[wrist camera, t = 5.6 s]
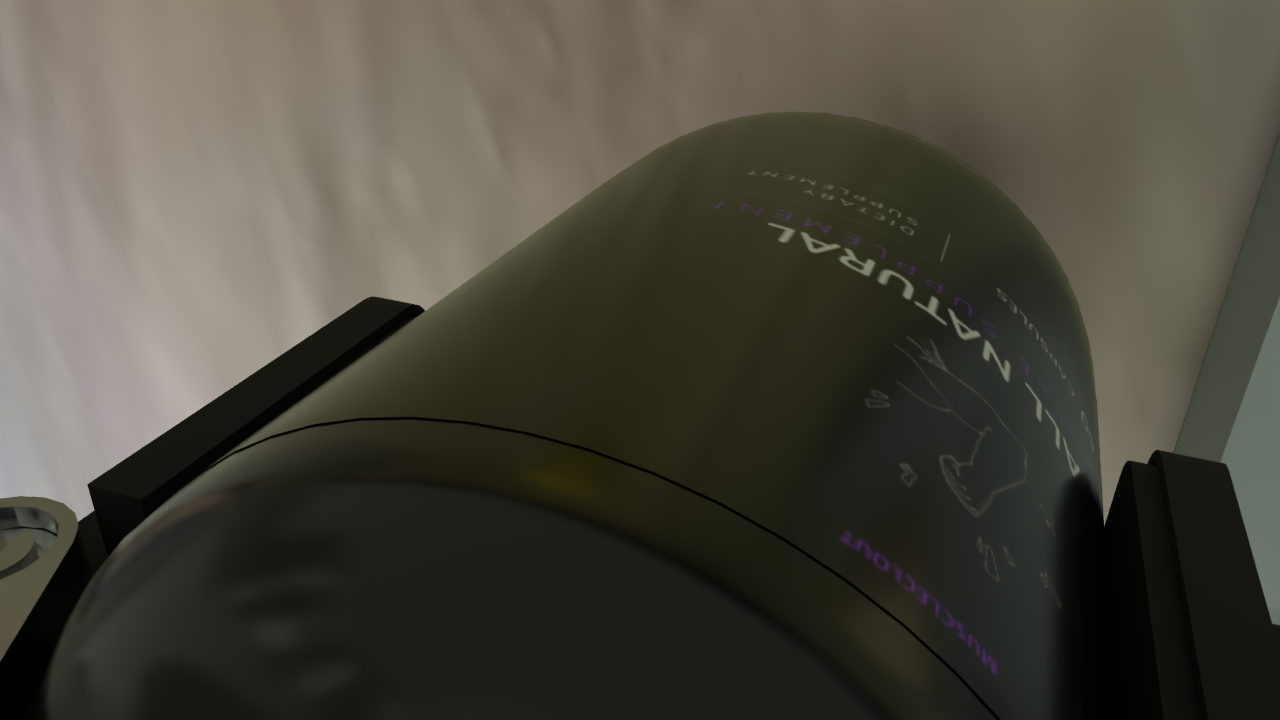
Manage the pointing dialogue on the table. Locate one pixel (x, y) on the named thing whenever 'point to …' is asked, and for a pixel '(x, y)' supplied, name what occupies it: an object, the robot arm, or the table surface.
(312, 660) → the supplement bottle
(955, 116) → the table surface
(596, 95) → the table surface
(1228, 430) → the rail rack
